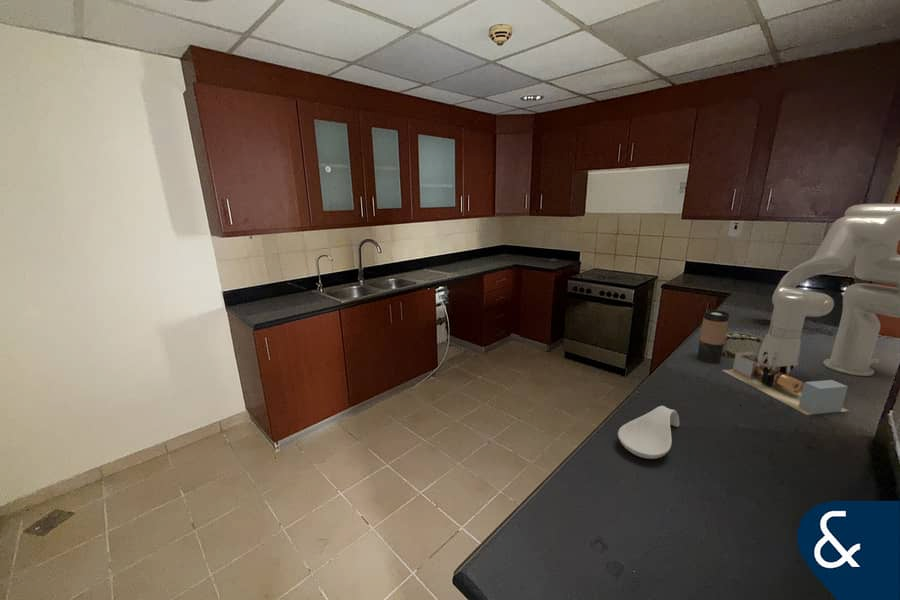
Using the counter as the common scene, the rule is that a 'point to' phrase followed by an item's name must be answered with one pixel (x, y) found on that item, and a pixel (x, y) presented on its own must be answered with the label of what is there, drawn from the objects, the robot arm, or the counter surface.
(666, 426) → the spoon rest
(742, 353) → the sleeve
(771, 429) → the counter surface
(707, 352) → the travel mug
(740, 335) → the food container
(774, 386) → the board
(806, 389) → the socket
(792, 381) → the tube
